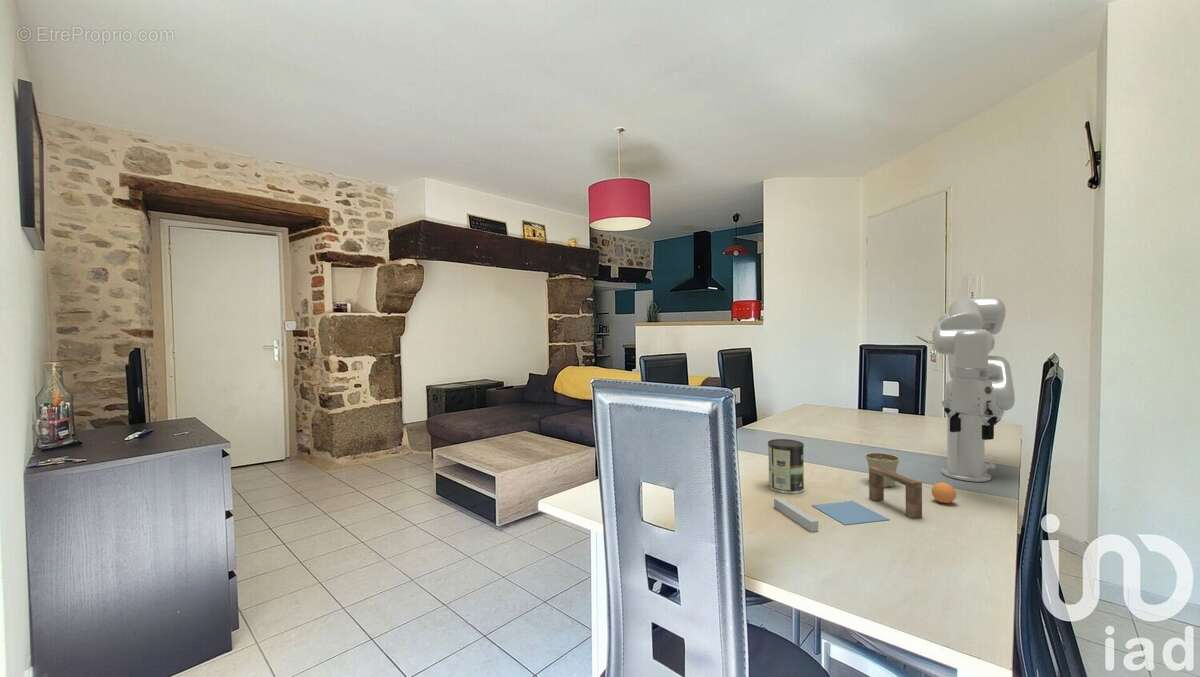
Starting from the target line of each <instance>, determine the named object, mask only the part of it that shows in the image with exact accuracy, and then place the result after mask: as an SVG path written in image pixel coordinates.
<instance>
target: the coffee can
mask: <svg viewBox="0 0 1200 677" xmlns="http://www.w3.org/2000/svg"><path fill="white" fill-rule="evenodd" d="M767 445H768V448H767V449H768V488H769V489H770V490H772V491H774V492H777V493H780V492H781V494H789V495H790V494H792V495H794V494H795V495H796V494H801V493H803V492H804V491H805V477H804V476H805V475H804V474H805V472H804V466H805V465H804V458H805V457H804V456H805V455H804V447H805V444H804V443H803V442H802V441H799V440H795V439H794V440H793V439H789V438H787V439H786V438H776V439H774V438H773V439H770V440H768V441H767Z"/></svg>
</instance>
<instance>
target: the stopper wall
mask: <svg viewBox="0 0 1200 677" xmlns="http://www.w3.org/2000/svg"><path fill="white" fill-rule="evenodd" d="M773 508H775V509H776V510H778V512H780V513H782V514H783V515H784V516H787V517H788V518H790V519H791V520H792V521H794V522H795V523H797V524H798V525H800V526H801V527H803V528H805V529H806V530H808V532H810V533H813V532H819V520H817V519H816V518H814V517H812V516H811V515H809V514H807V513H806V512H805V511H803V510H801V509H800V508H799V507H797V506H795V505H793V504H791V503H790V502H789V501H787V500H785V499H784V498H782V497H774V498H773Z"/></svg>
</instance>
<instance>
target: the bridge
mask: <svg viewBox="0 0 1200 677" xmlns="http://www.w3.org/2000/svg"><path fill="white" fill-rule="evenodd" d="M884 477H885V478H888V479H890V480H893V481H895V483H898V484H901V485H903V486H905V517H907V518H909V519H911V520H915V519H923V482H922V481H919V480H916V479H914V478H911V477H908V476H906V475H903V474H901V473H898V472H896V473H895V472H893V471H890V470H887V469H884V468H882V467H879V466H874V467H869V466H868V490H869V492H868V497H869V500H871V501H873V502H882V501H884V500H885V487H884Z"/></svg>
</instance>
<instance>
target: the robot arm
mask: <svg viewBox="0 0 1200 677" xmlns="http://www.w3.org/2000/svg"><path fill="white" fill-rule="evenodd" d="M1006 312H1007V311H1006V306H1005V304H1004V302H1003V300H1001V299H1000V298H998V297H995V296H991V297H990V296H988V297H987V296H986V297H982V296H981V297H963V298H959V299H956V300H954V301H953V302H952V303H950V305H949V307H948V312H945V313H943V314H942V315H941V316H939V319H938V322H937V323H936V325H935V326H934V328H933V332H932V333H933V334H932V344H933V348H934V350H935V352H936V353H938V354H940V355H947V359H948V360H947V363H948V365H947V366H948V373H949V377H950V378H951V380H948V381H947V382H946V383H945V384H944V387H943V396H944V400H942V401H941V405H942V407H943V408H944V412H945V413H946V416H947V417H946V420H947V425H946V426H947V427H946V429H947V430H946V431H947V433H946V434H947V440H946V441H947V444H946V445H947V448H946V449H947V450H946V452H947V454H946V455H947V457H946V458H947V464H946V465H947V466H945V467H943V468H941V473H942V475H944V476H946V477H948V478H951V479H956V480H961V481H966V482H974V483H975V482H976V483H977V482H978V483H983V482H990V481H991V479H992V476H991V474H990V473H988V470H991V471H992V470H996V468H997V466H996V464H995V463H992V462H991V463H987V462H985V456H986V455H985V450H986V449H985V443H986V442H985V441H988V440H989V441H990V440H994V438H995V426H996V425H998V424H997V423H999V422H1001V419H1002V417H1003V416H1004V414H1005V411H1010V410H1011V409H1012V408H1013V407H1014V406H1015V401H1016V397H1015V388H1014V384H1013V383H1014V382H1013V377H1012V369H1011V366H1010V362H1009V361H1008V360H1007V359H1006V358H1004V357H1003V356H999V355H989V354H990V353H991V352H992V350H995V349H994V348H995V345H996V344H995V343H996V342H995V336H994V335H997V334H999V333H1000V331H1002V328H1003V325H1004V321H1005V318H1006V314H1007V313H1006Z"/></svg>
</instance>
